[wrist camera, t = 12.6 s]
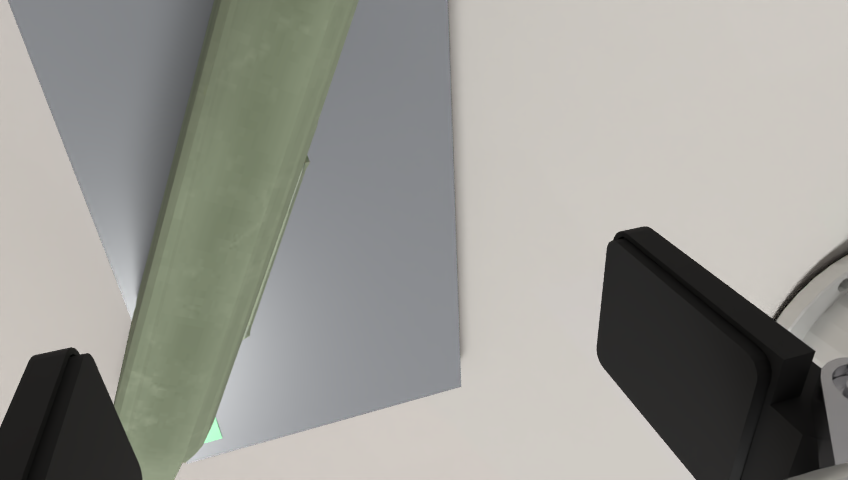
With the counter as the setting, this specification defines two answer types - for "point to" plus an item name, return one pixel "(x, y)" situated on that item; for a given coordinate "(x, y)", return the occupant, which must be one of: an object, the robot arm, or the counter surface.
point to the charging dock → (313, 209)
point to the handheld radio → (223, 215)
